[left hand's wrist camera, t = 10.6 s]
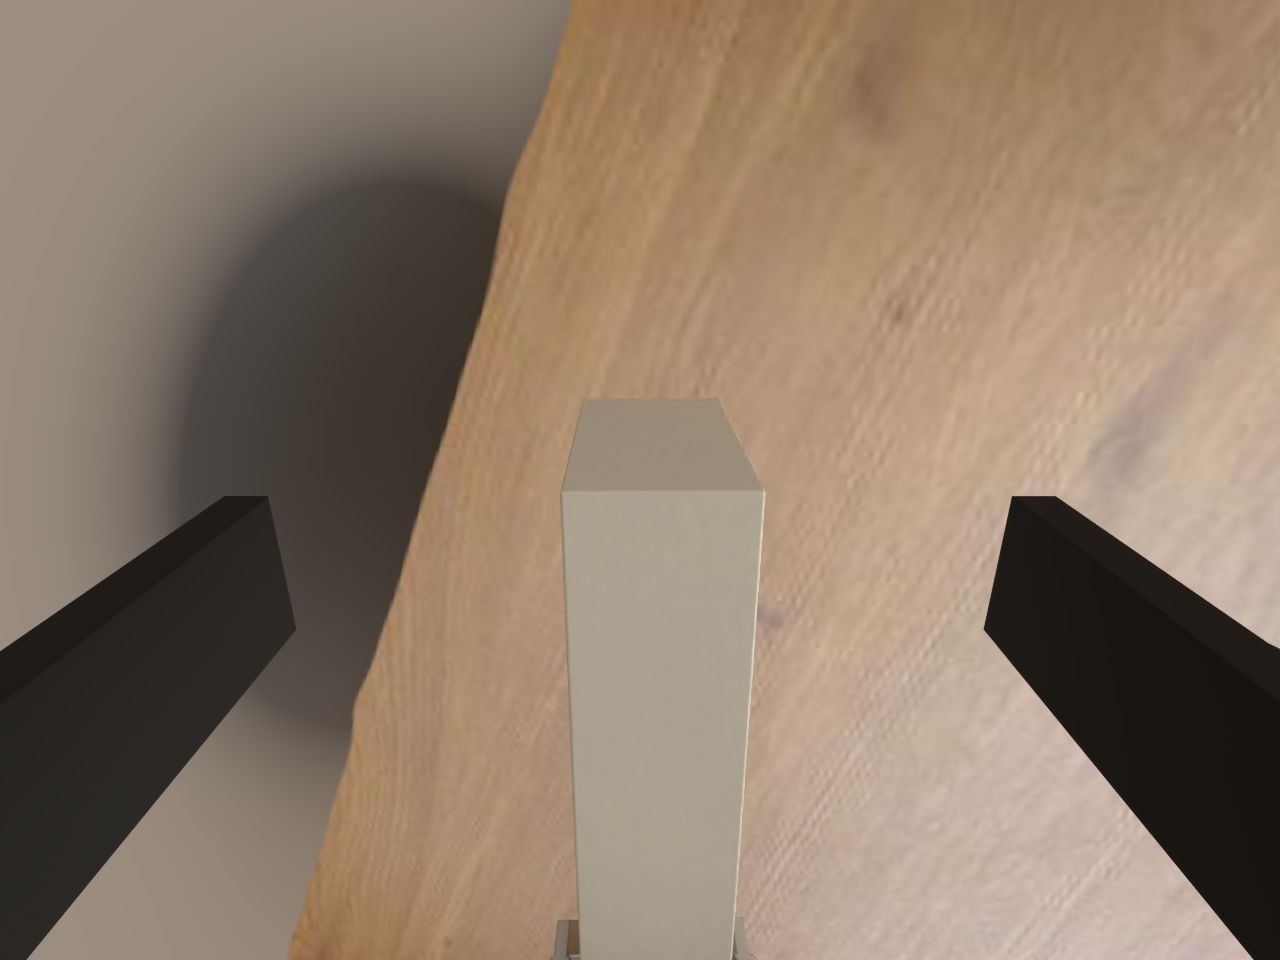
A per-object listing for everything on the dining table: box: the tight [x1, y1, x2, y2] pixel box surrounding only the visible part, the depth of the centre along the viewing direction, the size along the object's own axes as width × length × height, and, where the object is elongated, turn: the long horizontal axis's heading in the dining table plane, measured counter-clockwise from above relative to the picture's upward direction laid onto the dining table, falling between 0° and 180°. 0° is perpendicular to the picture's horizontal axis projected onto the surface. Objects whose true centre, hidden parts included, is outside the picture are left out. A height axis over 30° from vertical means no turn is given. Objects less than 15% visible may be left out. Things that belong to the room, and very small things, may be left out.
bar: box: [560, 398, 765, 960], centre depth 26 cm, size 26×5×9 cm, turn 0°
